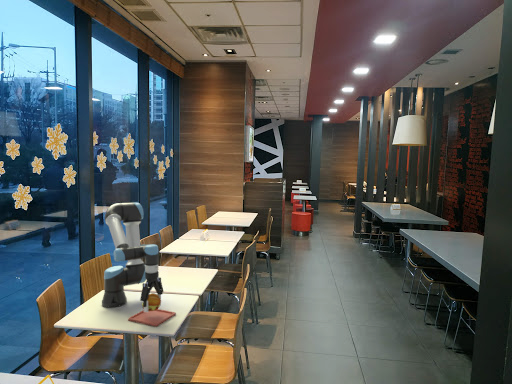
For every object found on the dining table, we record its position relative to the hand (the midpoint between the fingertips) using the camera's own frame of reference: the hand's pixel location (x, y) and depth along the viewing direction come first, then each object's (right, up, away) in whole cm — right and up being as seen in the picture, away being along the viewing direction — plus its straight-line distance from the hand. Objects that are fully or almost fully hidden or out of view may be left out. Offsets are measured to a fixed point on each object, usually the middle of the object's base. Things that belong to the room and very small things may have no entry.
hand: (152, 308), depth 215 cm
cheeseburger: (0, -1, 0) cm, 1 cm away
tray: (0, -6, 0) cm, 6 cm away
